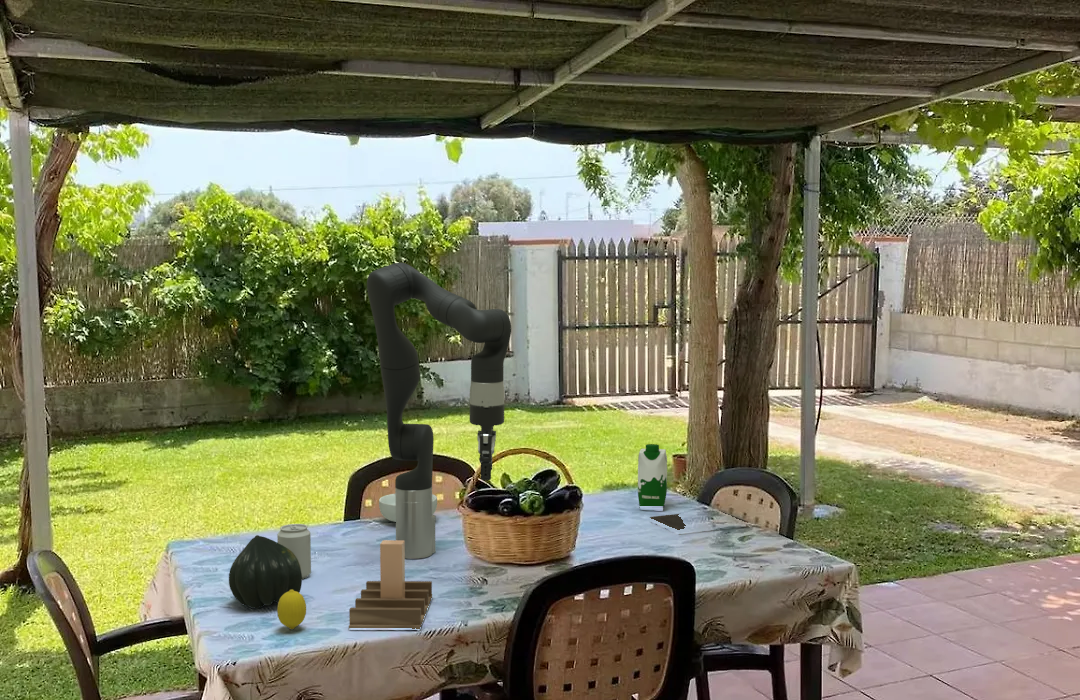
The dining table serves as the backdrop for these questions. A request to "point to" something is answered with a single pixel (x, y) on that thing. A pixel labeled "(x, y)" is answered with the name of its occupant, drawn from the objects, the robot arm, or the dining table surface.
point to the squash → (264, 573)
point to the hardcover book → (677, 520)
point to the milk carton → (652, 476)
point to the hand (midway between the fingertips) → (486, 475)
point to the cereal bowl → (389, 506)
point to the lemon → (291, 609)
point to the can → (297, 544)
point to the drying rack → (391, 607)
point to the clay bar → (392, 568)
